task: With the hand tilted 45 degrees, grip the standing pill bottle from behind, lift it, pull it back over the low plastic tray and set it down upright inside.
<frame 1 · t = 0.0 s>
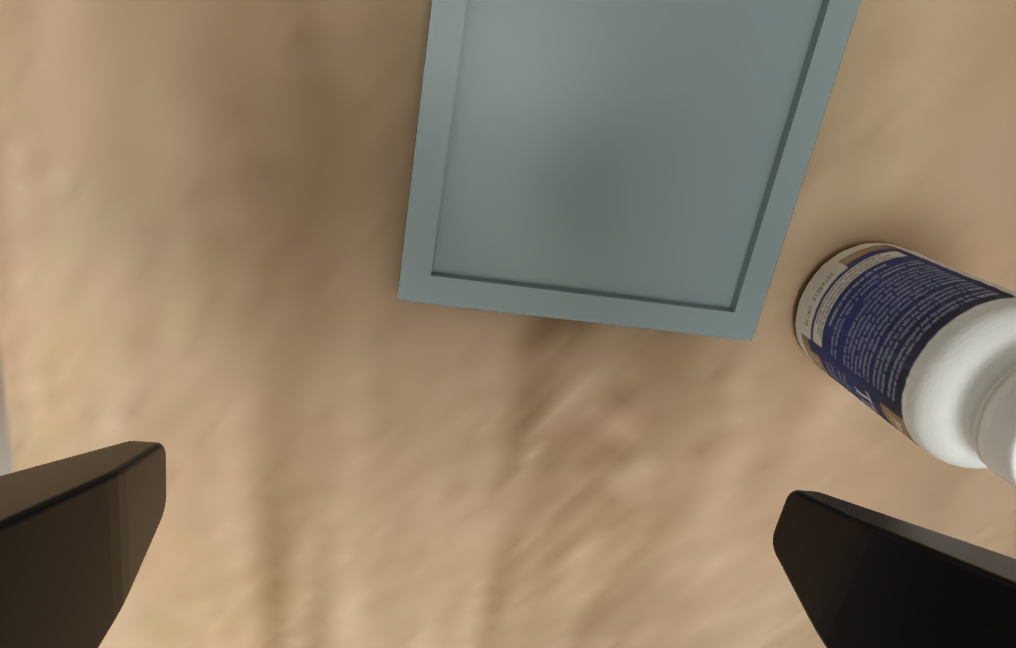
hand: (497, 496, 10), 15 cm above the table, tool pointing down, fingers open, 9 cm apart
pill bottle: (853, 305, 26), on the table
tray: (616, 129, 22), on the table
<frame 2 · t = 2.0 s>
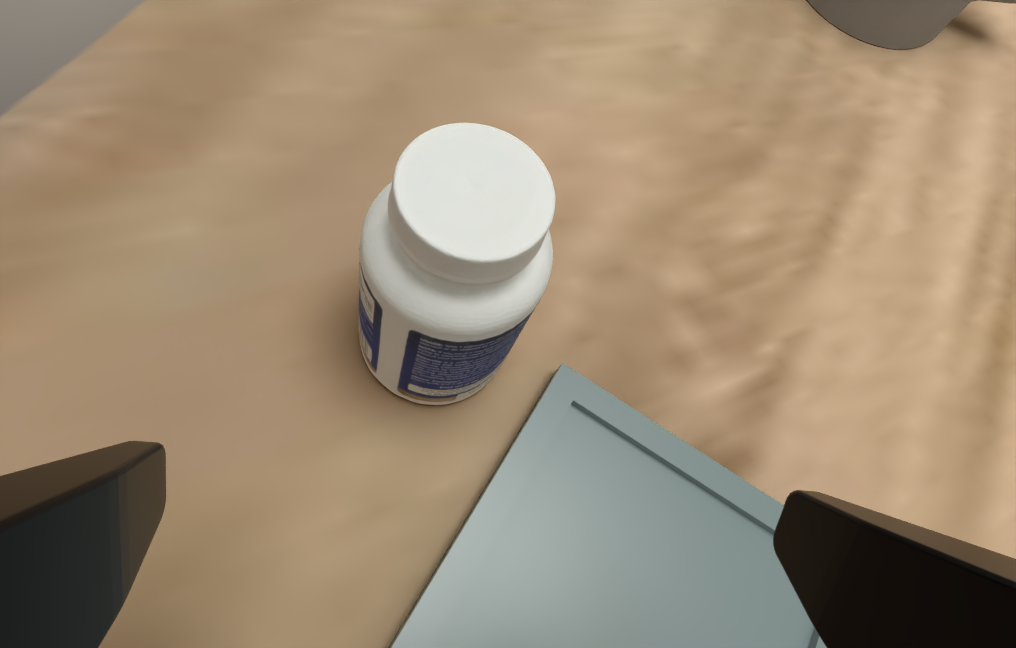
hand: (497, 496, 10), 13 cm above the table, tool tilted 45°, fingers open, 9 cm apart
pill bottle: (432, 339, 25), on the table
coffee mug: (889, 2, 39), on the table
tray: (628, 632, 22), on the table
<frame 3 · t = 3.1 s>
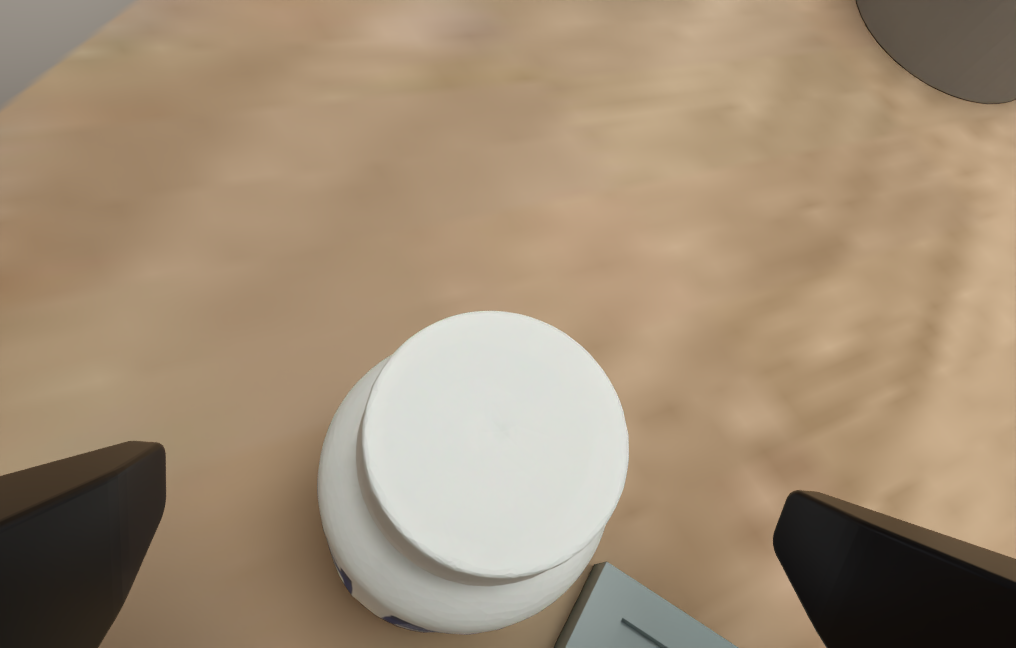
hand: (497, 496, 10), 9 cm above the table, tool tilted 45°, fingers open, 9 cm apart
pill bottle: (429, 523, 19), on the table
coffee mug: (973, 45, 33), on the table
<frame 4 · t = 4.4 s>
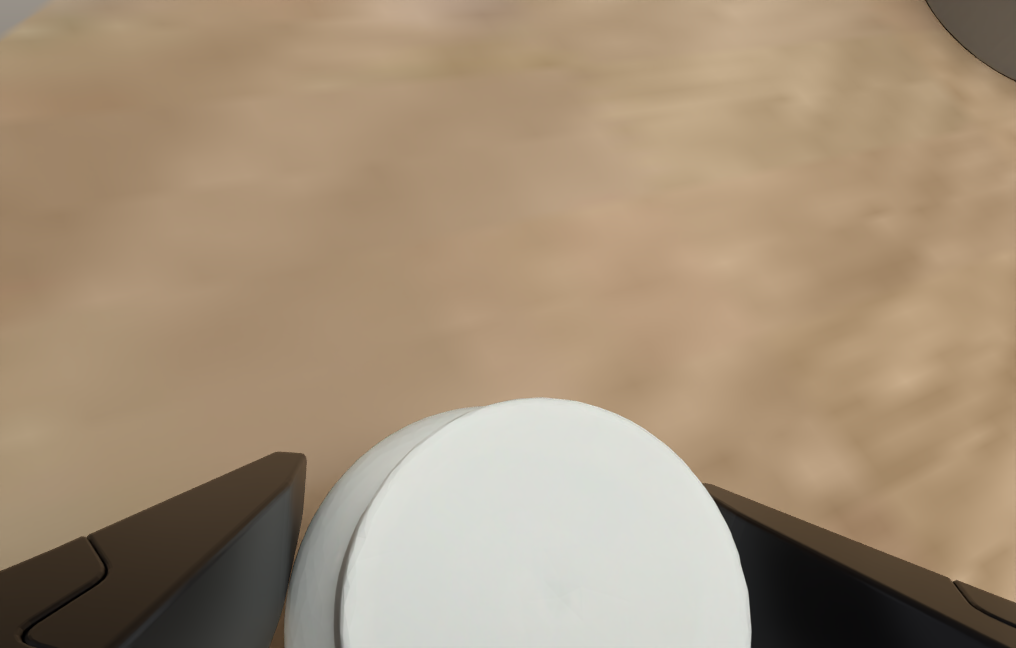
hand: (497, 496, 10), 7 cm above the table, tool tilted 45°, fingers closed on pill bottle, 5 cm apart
pill bottle: (437, 609, 15), on the table, touching gripper
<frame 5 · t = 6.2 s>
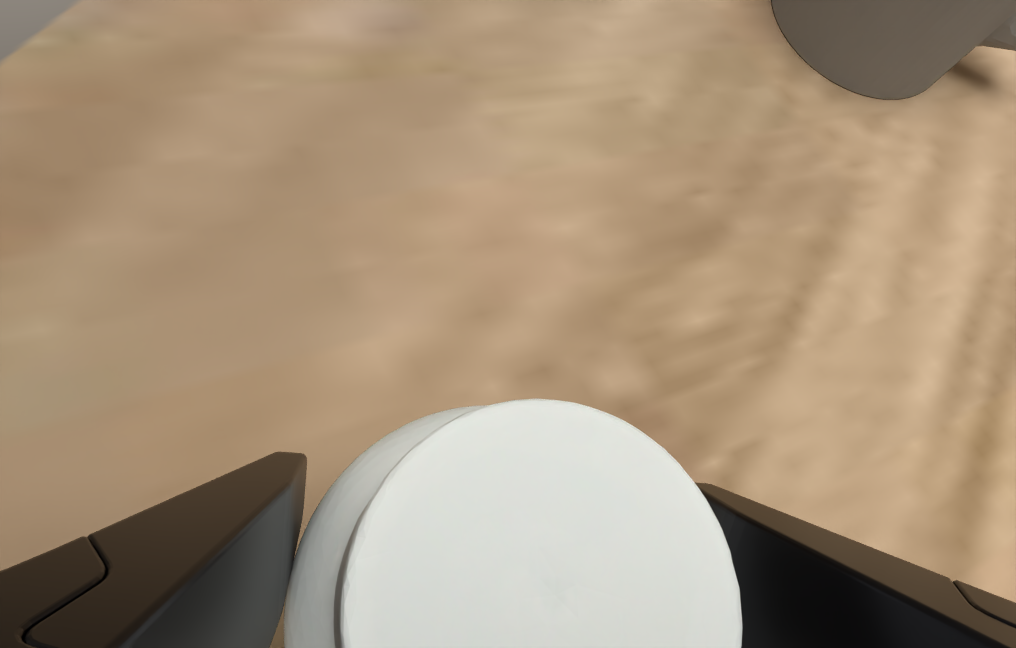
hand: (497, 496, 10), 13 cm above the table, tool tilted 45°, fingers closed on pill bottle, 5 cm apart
pill bottle: (434, 604, 15), point 6 cm above the table, touching gripper
coffee mug: (882, 42, 35), on the table
when the fingers open (8 cm above the table, at t = 8.4 s): pill bottle stays where it is, resting on tray.
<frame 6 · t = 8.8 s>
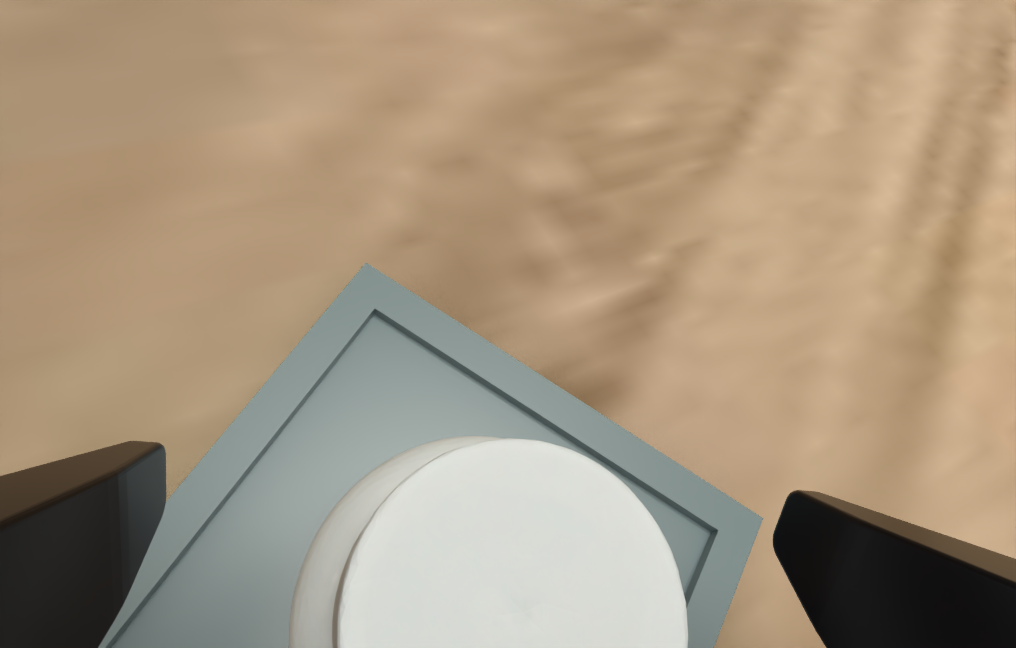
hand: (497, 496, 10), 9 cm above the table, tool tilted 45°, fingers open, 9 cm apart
pill bottle: (429, 614, 16), resting on tray
tray: (428, 608, 17), on the table
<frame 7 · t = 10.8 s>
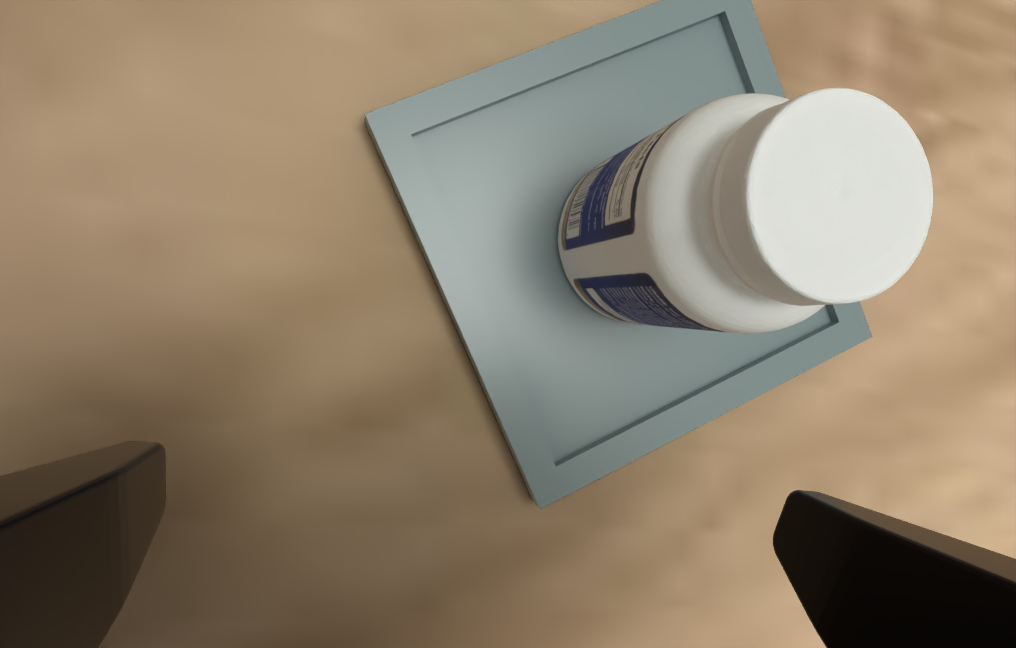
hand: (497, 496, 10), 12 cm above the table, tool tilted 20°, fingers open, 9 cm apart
pill bottle: (631, 240, 22), resting on tray
tray: (629, 238, 22), on the table
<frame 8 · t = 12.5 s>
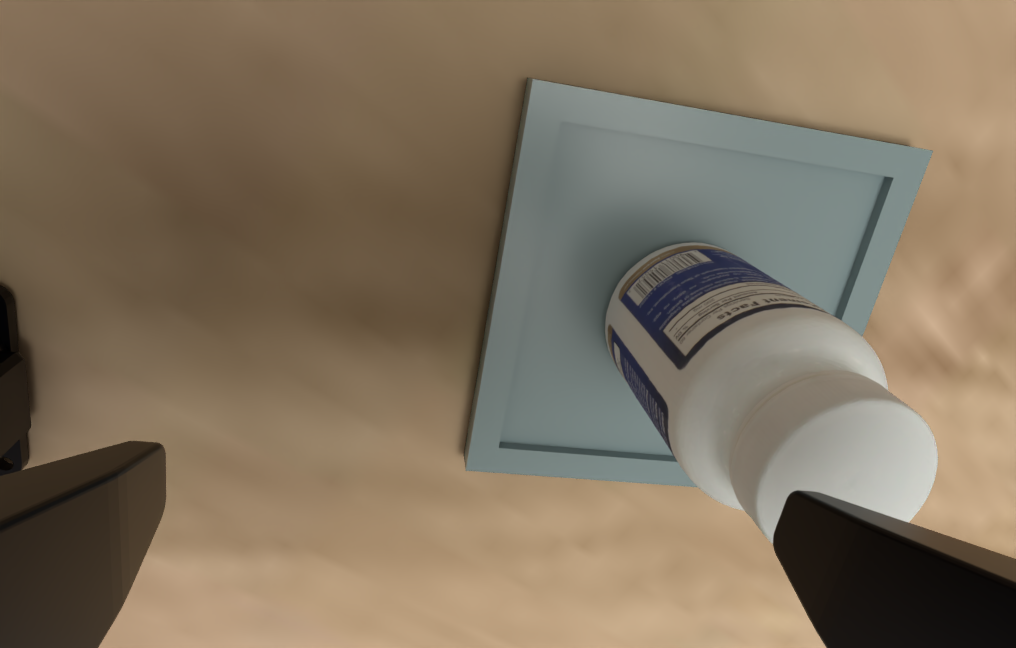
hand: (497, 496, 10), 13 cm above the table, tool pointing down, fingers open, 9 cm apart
pill bottle: (677, 313, 23), resting on tray
tray: (677, 308, 23), on the table
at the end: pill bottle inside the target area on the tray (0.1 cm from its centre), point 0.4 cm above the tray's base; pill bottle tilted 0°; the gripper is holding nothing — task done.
